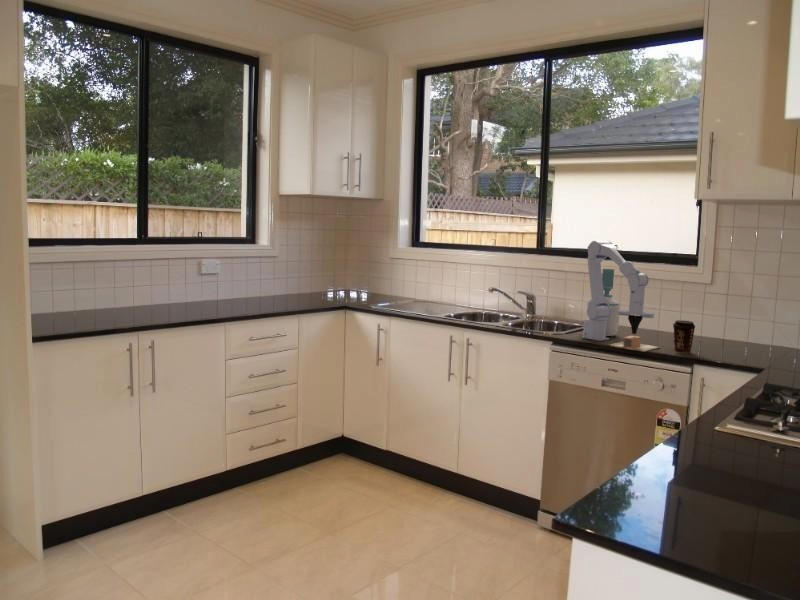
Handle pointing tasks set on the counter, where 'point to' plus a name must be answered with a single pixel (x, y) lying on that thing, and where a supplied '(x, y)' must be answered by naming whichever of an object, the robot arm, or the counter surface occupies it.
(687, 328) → the coffee cup
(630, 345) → the block
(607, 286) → the soap bottle
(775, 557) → the counter surface
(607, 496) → the counter surface
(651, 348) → the board
